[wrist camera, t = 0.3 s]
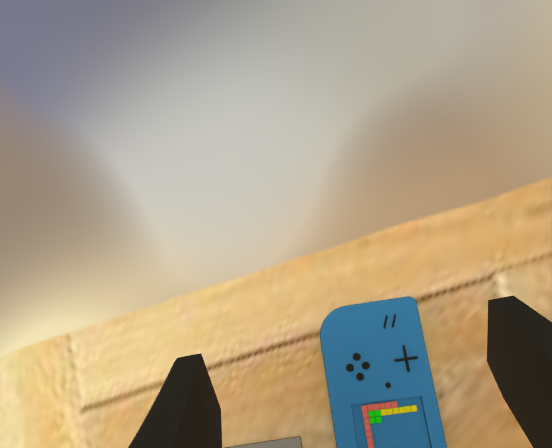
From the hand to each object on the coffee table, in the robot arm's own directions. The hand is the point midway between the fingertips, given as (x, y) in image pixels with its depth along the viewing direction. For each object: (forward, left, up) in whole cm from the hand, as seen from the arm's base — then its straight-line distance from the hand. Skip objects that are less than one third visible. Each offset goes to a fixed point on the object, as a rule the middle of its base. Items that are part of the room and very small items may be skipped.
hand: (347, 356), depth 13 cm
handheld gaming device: (-3, -2, -31) cm, 31 cm away
